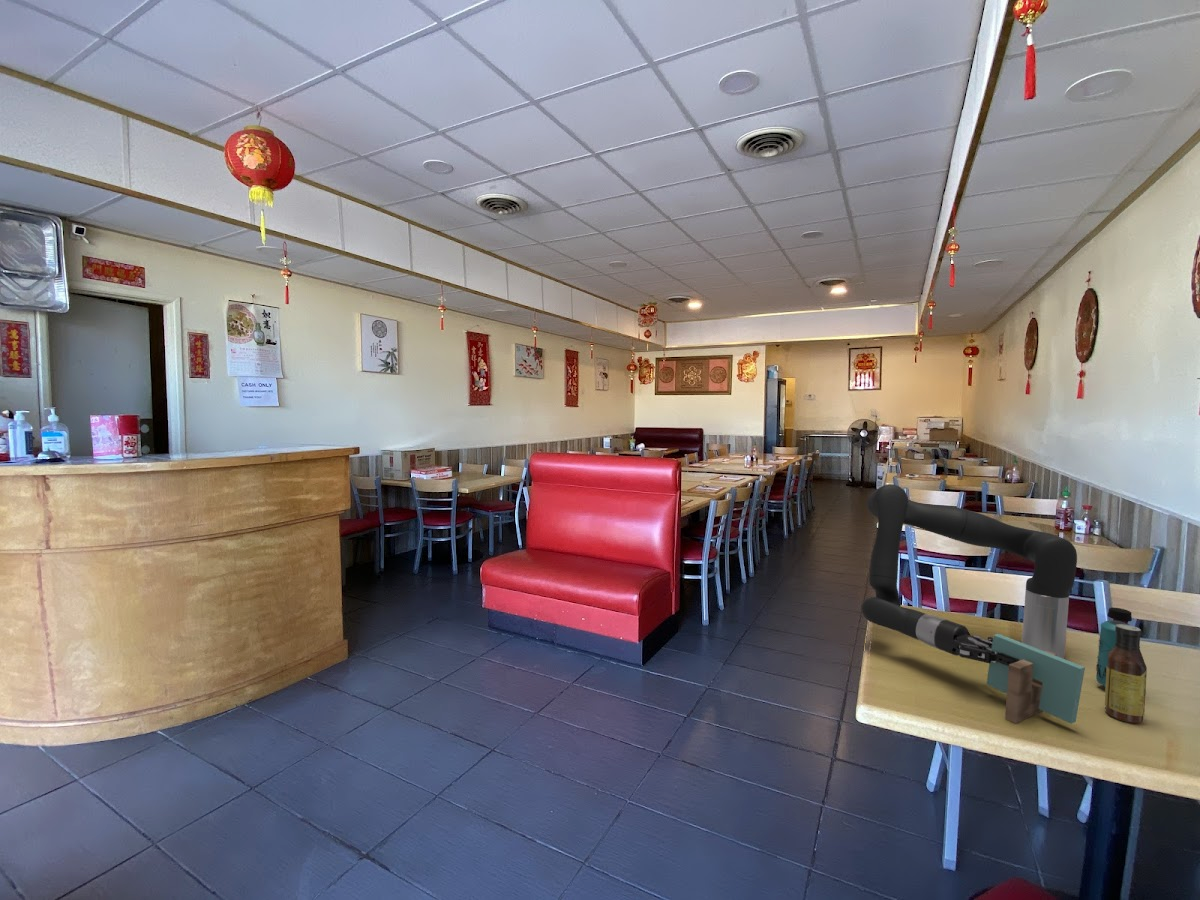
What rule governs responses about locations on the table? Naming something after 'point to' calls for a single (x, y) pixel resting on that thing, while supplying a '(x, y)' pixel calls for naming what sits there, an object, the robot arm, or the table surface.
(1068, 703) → the teal slotted plate
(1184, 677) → the table surface
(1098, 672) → the teal bottle
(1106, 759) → the table surface
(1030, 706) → the walnut slotted plate
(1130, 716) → the sauce bottle
